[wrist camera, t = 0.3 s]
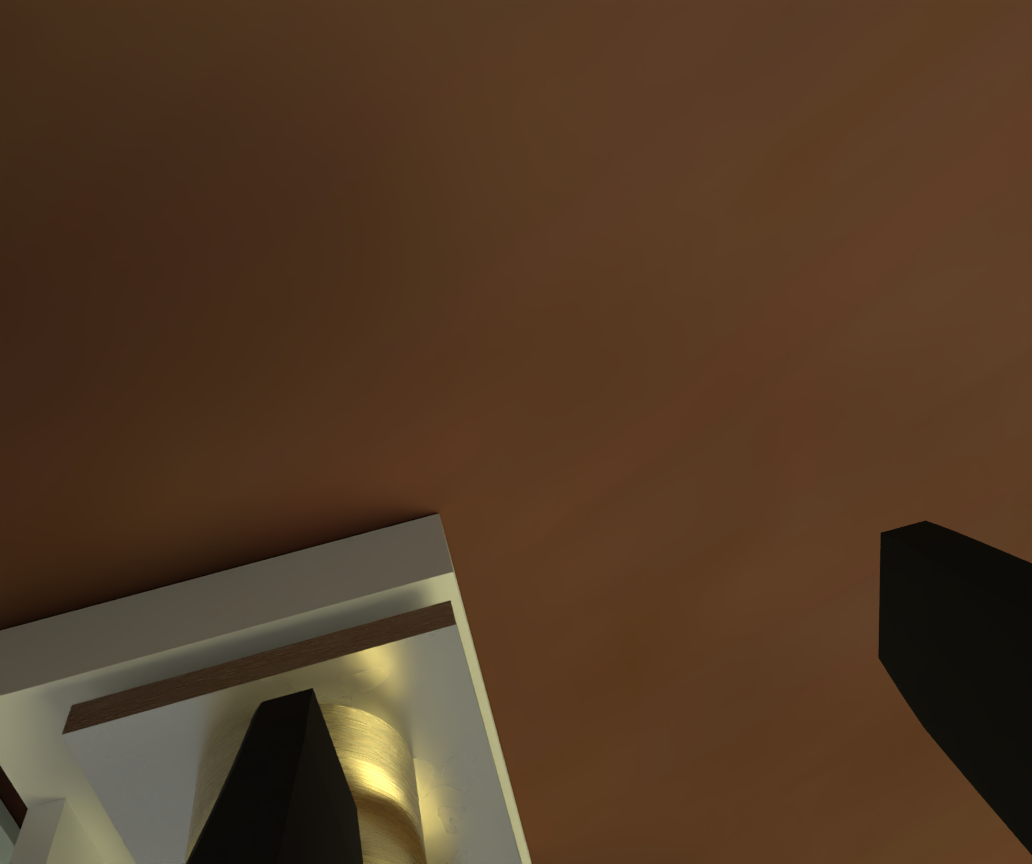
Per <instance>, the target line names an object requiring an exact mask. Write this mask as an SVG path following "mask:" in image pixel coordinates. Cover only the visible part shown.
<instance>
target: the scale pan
mask: <svg viewBox="0 0 1032 864" xmlns="http://www.w3.org/2000/svg"><path fill="white" fill-rule="evenodd" d="M311 688H313V690H314V692H315V695H316V698H317V701H318V703H327V704H338V705H343V706H349V707H352V708H356V709H359V710H363V711H365V712H367V713H370V714H372V715H374V716H376V717H378V718H379V719H381V720H383V721H384V722H386V723H387V724H388V725H390V726H391V727H392V728H393V729H395V731H396V732H397V733H398V734H399V735H400V736H401V737H402V738H403V740H404V741H405V743H406V744H407V746H408V748H409V750H410V753H411V755H412V758H413V763H414V768H415V775H416V783H417V790H418V798H419V806H420V813H421V821H422V828H423V836H424V843H425V851H426V859H427V864H522V861H521V857H520V854H519V850H518V846H517V843H516V839H515V835H514V832H513V828H512V824H511V821H510V817H509V813H508V810H507V806H506V802H505V799H504V795H503V791H502V788H501V784H500V780H499V777H498V773H497V769H496V766H495V762H494V758H493V755H492V751H491V747H490V744H489V740H488V736H487V733H486V729H485V725H484V721H483V718H482V714H481V710H480V707H479V703H478V699H477V696H476V692H475V688H474V685H473V681H472V677H471V674H470V670H469V666H468V663H467V659H466V655H465V652H464V648H463V644H462V641H461V637H460V633H459V630H458V626H457V622H456V619H455V615H454V611H453V608H452V604H451V600H449V601H446V602H442V603H438V604H435V605H431V606H427V607H424V608H420V609H417V610H413V611H409V612H406V613H402V614H399V615H395V616H391V617H388V618H384V619H381V620H377V621H373V622H370V623H366V624H363V625H359V626H355V627H352V628H348V629H344V630H341V631H337V632H334V633H330V634H326V635H323V636H319V637H316V638H312V639H308V640H305V641H301V642H298V643H294V644H290V645H287V646H283V647H280V648H276V649H272V650H269V651H265V652H261V653H258V654H254V655H251V656H247V657H243V658H240V659H236V660H233V661H229V662H225V663H222V664H218V665H215V666H211V667H207V668H204V669H200V670H197V671H193V672H189V673H186V674H182V675H178V676H175V677H171V678H168V679H164V680H160V681H157V682H153V683H150V684H146V685H142V686H139V687H135V688H132V689H128V690H124V691H121V692H117V693H114V694H110V695H106V696H103V697H99V698H95V699H92V700H88V701H85V702H81V703H77V704H74V705H72V706H71V709H70V712H69V715H68V718H67V720H66V723H65V726H64V729H63V732H62V736H63V738H64V740H65V742H66V743H67V745H68V747H69V748H70V750H71V752H72V754H73V755H74V757H75V759H76V761H77V762H78V764H79V766H80V767H81V769H82V771H83V773H84V774H85V776H86V778H87V780H88V781H89V783H90V785H91V786H92V788H93V790H94V792H95V793H96V795H97V797H98V799H99V800H100V802H101V804H102V805H103V807H104V809H105V811H106V812H107V814H108V816H109V818H110V819H111V821H112V823H113V825H114V826H115V828H116V830H117V831H118V833H119V835H120V837H121V838H122V840H123V842H124V844H125V845H126V847H127V849H128V850H129V852H130V854H131V856H132V857H133V859H134V861H135V863H136V864H184V863H185V856H186V849H187V842H188V836H189V829H190V822H191V815H192V809H193V802H194V795H195V788H196V783H197V777H198V774H199V771H200V768H201V766H202V764H203V762H204V760H205V758H206V757H207V755H208V754H209V752H210V751H211V750H212V748H213V747H214V746H215V745H216V744H217V743H218V742H219V741H220V740H221V739H222V738H223V737H224V736H225V735H226V734H227V733H229V732H230V731H231V730H233V729H234V728H235V727H237V726H239V725H240V724H242V723H244V722H245V721H247V720H249V719H251V718H252V717H253V715H254V712H255V711H256V709H257V708H258V706H259V705H260V703H261V702H263V701H267V700H270V699H274V698H278V697H281V696H285V695H289V694H292V693H296V692H300V691H303V690H307V689H311Z"/></svg>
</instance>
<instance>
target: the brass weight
mask: <svg viewBox="0 0 1032 864" xmlns="http://www.w3.org/2000/svg"><path fill="white" fill-rule="evenodd" d="M319 706H320V709H321V711H322V714H323V717H324V720H325V722H326V725H327V728H328V731H329V733H330V736H331V739H332V742H333V744H334V747H335V750H336V752H337V755H338V758H339V761H340V763H341V766H342V769H343V772H344V774H345V777H346V780H347V782H348V785H349V788H350V791H351V793H352V796H353V799H354V802H355V804H356V807H357V813H358V822H359V830H360V839H361V847H362V856H363V864H427V859H426V851H425V843H424V836H423V828H422V821H421V813H420V806H419V798H418V790H417V783H416V775H415V768H414V763H413V758H412V755H411V753H410V750H409V748H408V746H407V744H406V743H405V741H404V740H403V738H402V737H401V736H400V735H399V734H398V733H397V732H396V731H395V729H393V728H392V727H391V726H390V725H388V724H387V723H386V722H384V721H383V720H381V719H379V718H378V717H376V716H374V715H372V714H370V713H367V712H365V711H363V710H359V709H356V708H352V707H349V706H343V705H338V704H327V703H319ZM251 720H252V718H251V719H249V720H247V721H245V722H244V723H242V724H240V725H239V726H237V727H235V728H234V729H233V730H231V731H230V732H229V733H227V734H226V735H225V736H224V737H223V738H222V739H221V740H220V741H219V742H218V743H217V744H216V745H215V746H214V747H213V748H212V750H211V751H210V752H209V754H208V755H207V757H206V758H205V760H204V762H203V764H202V766H201V768H200V771H199V774H198V777H197V783H196V788H195V795H194V802H193V809H192V815H191V822H190V829H189V836H188V842H187V849H186V856H185V863H184V864H186V862H187V860H188V858H189V856H190V854H191V852H192V850H193V848H194V846H195V844H196V842H197V839H198V837H199V835H200V833H201V831H202V829H203V827H204V825H205V823H206V821H207V819H208V817H209V815H210V813H211V811H212V809H213V807H214V804H215V802H216V800H217V798H218V796H219V793H220V791H221V789H222V787H223V785H224V782H225V780H226V778H227V776H228V774H229V771H230V769H231V767H232V765H233V762H234V760H235V758H236V755H237V753H238V751H239V748H240V746H241V744H242V741H243V739H244V736H245V734H246V732H247V729H248V727H249V724H250V722H251Z"/></svg>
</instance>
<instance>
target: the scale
mask: <svg viewBox="0 0 1032 864" xmlns="http://www.w3.org/2000/svg"><path fill="white" fill-rule="evenodd" d="M449 600H451V604H452V608H453V611H454V615H455V619H456V622H457V626H458V630H459V633H460V637H461V641H462V644H463V648H464V652H465V655H466V659H467V663H468V666H469V670H470V674H471V677H472V681H473V685H474V688H475V692H476V696H477V699H478V703H479V707H480V710H481V714H482V718H483V721H484V725H485V729H486V733H487V736H488V740H489V744H490V747H491V751H492V755H493V758H494V762H495V766H496V769H497V773H498V777H499V780H500V784H501V788H502V791H503V795H504V799H505V802H506V806H507V810H508V813H509V817H510V821H511V824H512V828H513V832H514V835H515V839H516V843H517V846H518V850H519V854H520V857H521V861H522V864H532V863H531V859H530V855H529V851H528V847H527V844H526V840H525V836H524V832H523V829H522V825H521V821H520V817H519V813H518V810H517V806H516V802H515V798H514V794H513V791H512V787H511V783H510V779H509V776H508V772H507V768H506V764H505V760H504V757H503V753H502V749H501V745H500V742H499V738H498V734H497V730H496V726H495V723H494V719H493V715H492V711H491V708H490V704H489V700H488V696H487V692H486V689H485V685H484V681H483V677H482V674H481V670H480V666H479V662H478V658H477V655H476V651H475V647H474V643H473V639H472V636H471V632H470V628H469V624H468V621H467V617H466V613H465V609H464V605H463V602H462V598H461V594H460V590H459V587H458V583H457V579H456V575H455V571H454V568H453V564H452V560H451V556H450V553H449V549H448V545H447V541H446V537H445V534H444V530H443V526H442V522H441V519H440V515H439V514H435V515H431V516H427V517H424V518H420V519H416V520H412V521H409V522H405V523H401V524H397V525H394V526H390V527H386V528H382V529H379V530H375V531H371V532H368V533H364V534H360V535H356V536H353V537H349V538H345V539H341V540H338V541H334V542H330V543H326V544H323V545H319V546H315V547H311V548H308V549H304V550H300V551H296V552H293V553H289V554H285V555H281V556H278V557H274V558H270V559H266V560H263V561H259V562H255V563H251V564H248V565H244V566H240V567H236V568H233V569H229V570H225V571H221V572H218V573H214V574H210V575H207V576H203V577H199V578H195V579H192V580H188V581H184V582H180V583H177V584H173V585H169V586H165V587H162V588H158V589H154V590H150V591H147V592H143V593H139V594H135V595H132V596H128V597H124V598H120V599H117V600H113V601H109V602H105V603H102V604H98V605H94V606H90V607H87V608H83V609H79V610H75V611H72V612H68V613H64V614H60V615H57V616H53V617H49V618H45V619H42V620H38V621H34V622H31V623H27V624H23V625H19V626H16V627H12V628H8V629H4V630H1V631H0V766H1V767H2V769H3V770H4V772H5V773H6V775H7V777H8V778H9V780H10V781H11V783H12V784H13V786H14V788H15V789H16V791H17V792H18V794H19V795H20V797H21V799H22V800H23V802H24V803H25V805H26V806H27V808H28V810H27V813H26V816H25V819H24V821H23V824H22V827H21V830H20V833H19V836H18V839H17V842H16V844H15V847H14V850H13V853H12V856H11V859H10V862H9V864H136V863H135V861H134V859H133V857H132V856H131V854H130V852H129V850H128V849H127V847H126V845H125V844H124V842H123V840H122V838H121V837H120V835H119V833H118V831H117V830H116V828H115V826H114V825H113V823H112V821H111V819H110V818H109V816H108V814H107V812H106V811H105V809H104V807H103V805H102V804H101V802H100V800H99V799H98V797H97V795H96V793H95V792H94V790H93V788H92V786H91V785H90V783H89V781H88V780H87V778H86V776H85V774H84V773H83V771H82V769H81V767H80V766H79V764H78V762H77V761H76V759H75V757H74V755H73V754H72V752H71V750H70V748H69V747H68V745H67V743H66V742H65V740H64V738H63V736H62V732H63V729H64V726H65V723H66V720H67V718H68V715H69V712H70V709H71V706H72V705H74V704H77V703H81V702H85V701H88V700H92V699H95V698H99V697H103V696H106V695H110V694H114V693H117V692H121V691H124V690H128V689H132V688H135V687H139V686H142V685H146V684H150V683H153V682H157V681H160V680H164V679H168V678H171V677H175V676H178V675H182V674H186V673H189V672H193V671H197V670H200V669H204V668H207V667H211V666H215V665H218V664H222V663H225V662H229V661H233V660H236V659H240V658H243V657H247V656H251V655H254V654H258V653H261V652H265V651H269V650H272V649H276V648H280V647H283V646H287V645H290V644H294V643H298V642H301V641H305V640H308V639H312V638H316V637H319V636H323V635H326V634H330V633H334V632H337V631H341V630H344V629H348V628H352V627H355V626H359V625H363V624H366V623H370V622H373V621H377V620H381V619H384V618H388V617H391V616H395V615H399V614H402V613H406V612H409V611H413V610H417V609H420V608H424V607H427V606H431V605H435V604H438V603H442V602H446V601H449Z"/></svg>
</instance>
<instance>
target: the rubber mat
mask: <svg viewBox="0 0 1032 864" xmlns="http://www.w3.org/2000/svg"><path fill="white" fill-rule="evenodd" d="M19 833H20V828H19V827H18V825H17V824H16V822H15V821H14V819H13V818H12V816H11V814H10V813H9V811H8V810H7V808H6V807H5V805H4V804H3V802H2V801H1V799H0V864H9V862H10V859H11V856H12V853H13V850H14V847H15V844H16V842H17V839H18V836H19Z"/></svg>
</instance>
